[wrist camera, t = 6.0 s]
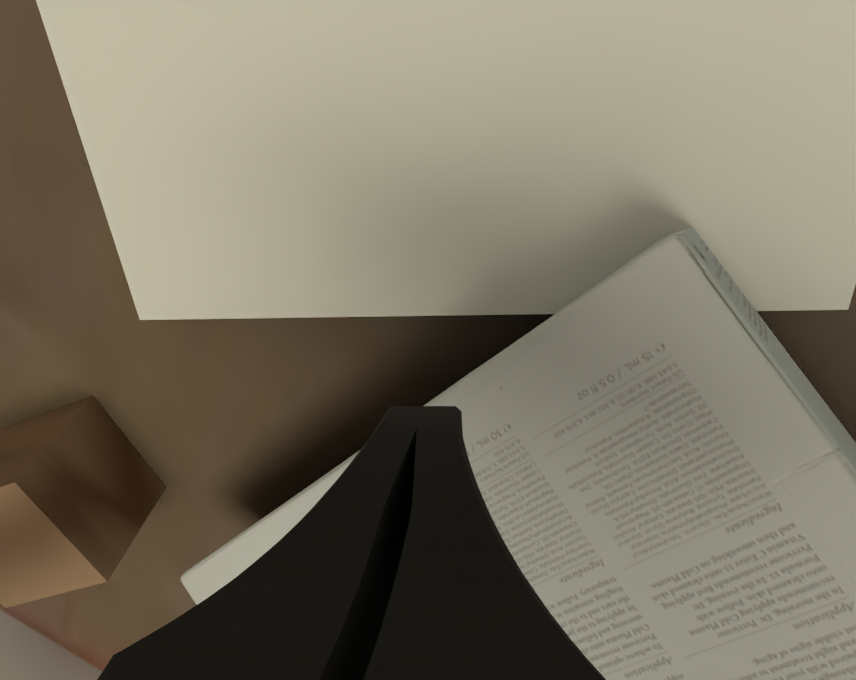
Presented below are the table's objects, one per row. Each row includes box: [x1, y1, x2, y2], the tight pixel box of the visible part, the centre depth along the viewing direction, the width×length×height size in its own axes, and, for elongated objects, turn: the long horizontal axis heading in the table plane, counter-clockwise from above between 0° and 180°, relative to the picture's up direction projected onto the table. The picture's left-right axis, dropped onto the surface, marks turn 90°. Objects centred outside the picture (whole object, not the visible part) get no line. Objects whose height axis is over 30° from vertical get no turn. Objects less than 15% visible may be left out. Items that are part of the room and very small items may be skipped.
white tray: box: [36, 0, 856, 320], centre depth 17 cm, size 17×23×2 cm
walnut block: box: [0, 396, 166, 608], centre depth 26 cm, size 5×5×5 cm
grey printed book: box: [181, 227, 856, 680], centre depth 21 cm, size 21×5×16 cm
